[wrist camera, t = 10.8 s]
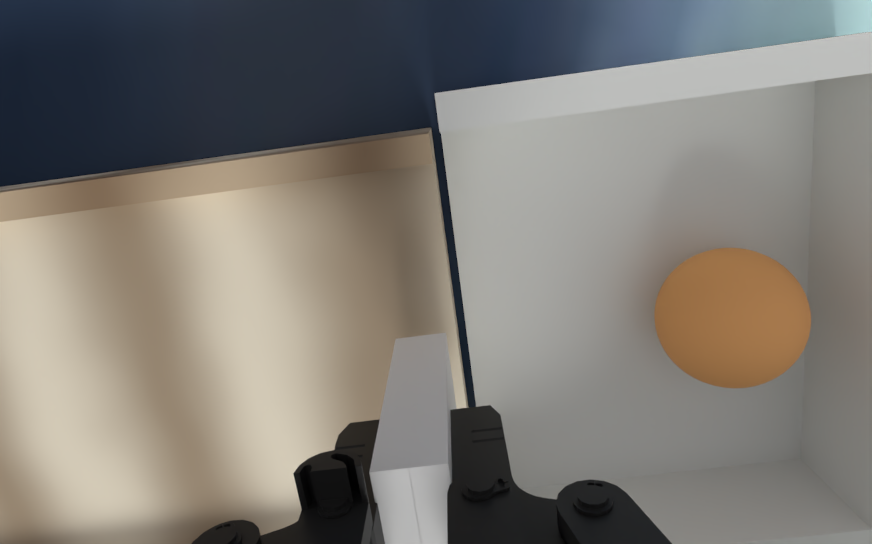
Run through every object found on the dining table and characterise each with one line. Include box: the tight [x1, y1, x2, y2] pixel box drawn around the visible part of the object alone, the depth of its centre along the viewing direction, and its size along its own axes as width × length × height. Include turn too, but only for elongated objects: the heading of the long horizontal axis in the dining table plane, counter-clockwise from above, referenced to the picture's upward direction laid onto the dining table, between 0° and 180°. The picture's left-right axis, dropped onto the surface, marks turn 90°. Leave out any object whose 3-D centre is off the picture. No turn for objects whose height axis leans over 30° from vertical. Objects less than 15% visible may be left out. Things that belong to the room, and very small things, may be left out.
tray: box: [434, 32, 872, 544], centre depth 19 cm, size 13×16×4 cm
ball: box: [654, 248, 811, 388], centre depth 19 cm, size 4×4×4 cm
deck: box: [0, 128, 469, 544], centre depth 20 cm, size 20×14×4 cm
